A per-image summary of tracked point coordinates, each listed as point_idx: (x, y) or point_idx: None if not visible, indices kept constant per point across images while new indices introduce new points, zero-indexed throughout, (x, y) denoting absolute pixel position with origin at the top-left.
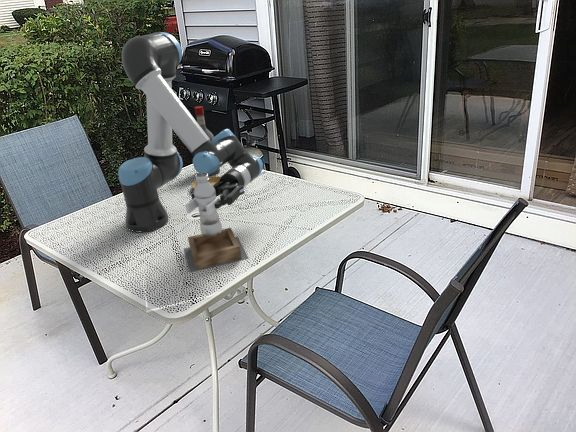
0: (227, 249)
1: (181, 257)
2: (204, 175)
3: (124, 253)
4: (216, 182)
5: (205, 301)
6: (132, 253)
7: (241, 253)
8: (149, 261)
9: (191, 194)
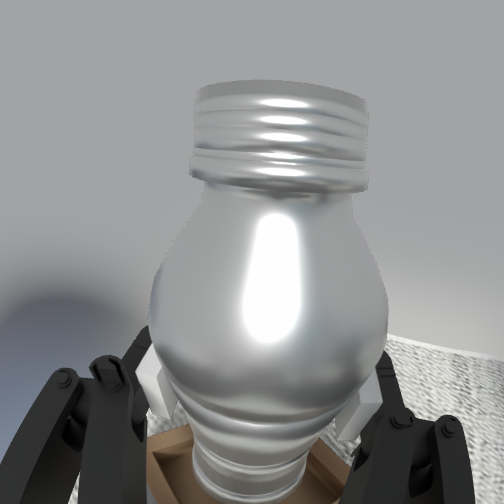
0: (171, 430)
1: (353, 459)
2: (285, 130)
3: (488, 415)
4: None
5: None
6: (477, 423)
7: (148, 487)
8: (419, 417)
9: (454, 418)
